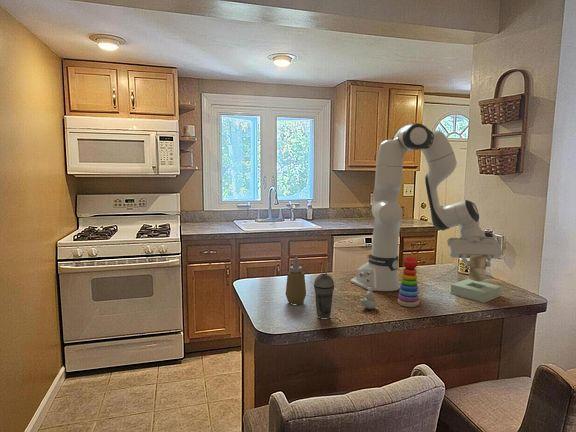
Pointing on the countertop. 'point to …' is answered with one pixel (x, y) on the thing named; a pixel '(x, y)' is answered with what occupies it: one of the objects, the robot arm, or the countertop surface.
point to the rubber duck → (369, 300)
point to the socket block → (476, 290)
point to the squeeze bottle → (295, 284)
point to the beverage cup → (324, 294)
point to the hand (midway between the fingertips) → (478, 266)
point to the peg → (477, 267)
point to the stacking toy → (409, 284)
